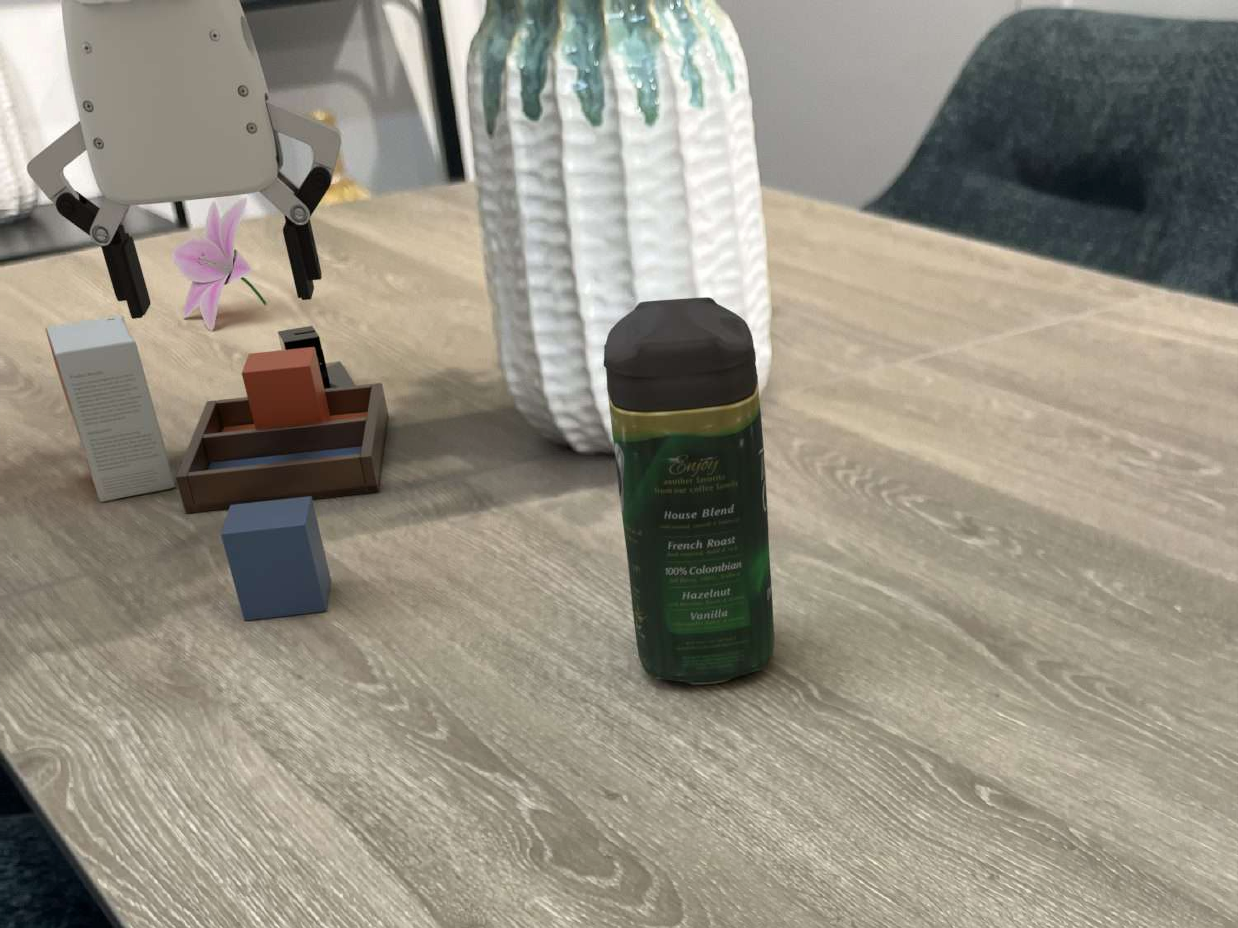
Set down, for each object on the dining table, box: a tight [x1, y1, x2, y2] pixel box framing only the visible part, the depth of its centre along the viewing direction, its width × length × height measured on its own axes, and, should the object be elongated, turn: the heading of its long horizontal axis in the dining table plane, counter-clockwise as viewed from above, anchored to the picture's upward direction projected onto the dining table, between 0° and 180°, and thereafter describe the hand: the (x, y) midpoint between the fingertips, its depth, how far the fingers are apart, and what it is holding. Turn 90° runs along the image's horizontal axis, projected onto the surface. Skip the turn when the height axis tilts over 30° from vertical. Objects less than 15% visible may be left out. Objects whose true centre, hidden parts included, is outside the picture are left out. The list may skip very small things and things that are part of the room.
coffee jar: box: [603, 296, 775, 685], centre depth 92 cm, size 10×8×19 cm
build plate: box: [277, 325, 356, 389], centre depth 141 cm, size 12×7×5 cm, turn 21°
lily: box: [171, 197, 268, 332], centre depth 162 cm, size 12×12×10 cm
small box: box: [44, 315, 176, 503], centre depth 124 cm, size 8×6×10 cm
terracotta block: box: [241, 347, 331, 429], centre depth 130 cm, size 5×5×6 cm
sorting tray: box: [175, 382, 389, 514], centre depth 128 cm, size 14×18×3 cm
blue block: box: [220, 496, 332, 622], centre depth 106 cm, size 5×5×6 cm
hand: (224, 303), depth 101 cm, fingers open, 9 cm apart
